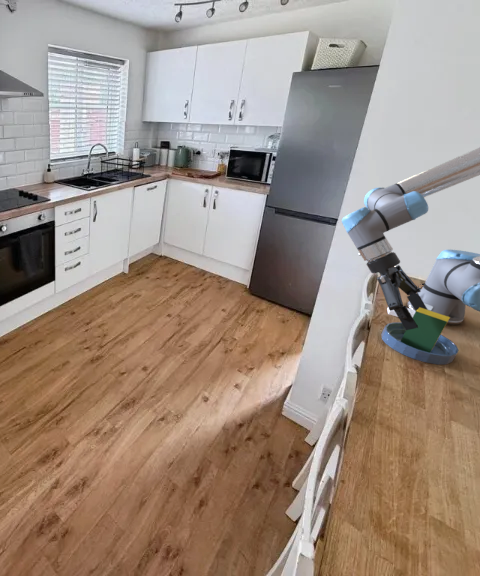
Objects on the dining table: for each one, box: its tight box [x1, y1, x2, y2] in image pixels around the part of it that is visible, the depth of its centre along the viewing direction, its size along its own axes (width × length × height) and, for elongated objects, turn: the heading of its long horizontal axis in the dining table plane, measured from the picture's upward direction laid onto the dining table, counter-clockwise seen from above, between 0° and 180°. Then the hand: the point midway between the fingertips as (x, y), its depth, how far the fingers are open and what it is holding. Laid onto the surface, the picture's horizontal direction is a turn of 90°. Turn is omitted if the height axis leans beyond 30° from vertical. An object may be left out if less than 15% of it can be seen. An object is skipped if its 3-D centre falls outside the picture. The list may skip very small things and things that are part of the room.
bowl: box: [381, 321, 459, 365], centre depth 108 cm, size 17×17×4 cm
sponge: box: [400, 307, 450, 353], centre depth 107 cm, size 4×7×11 cm, turn 40°
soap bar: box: [386, 307, 416, 318], centre depth 126 cm, size 5×9×3 cm, turn 56°
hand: (418, 321), depth 107 cm, fingers open, 13 cm apart
